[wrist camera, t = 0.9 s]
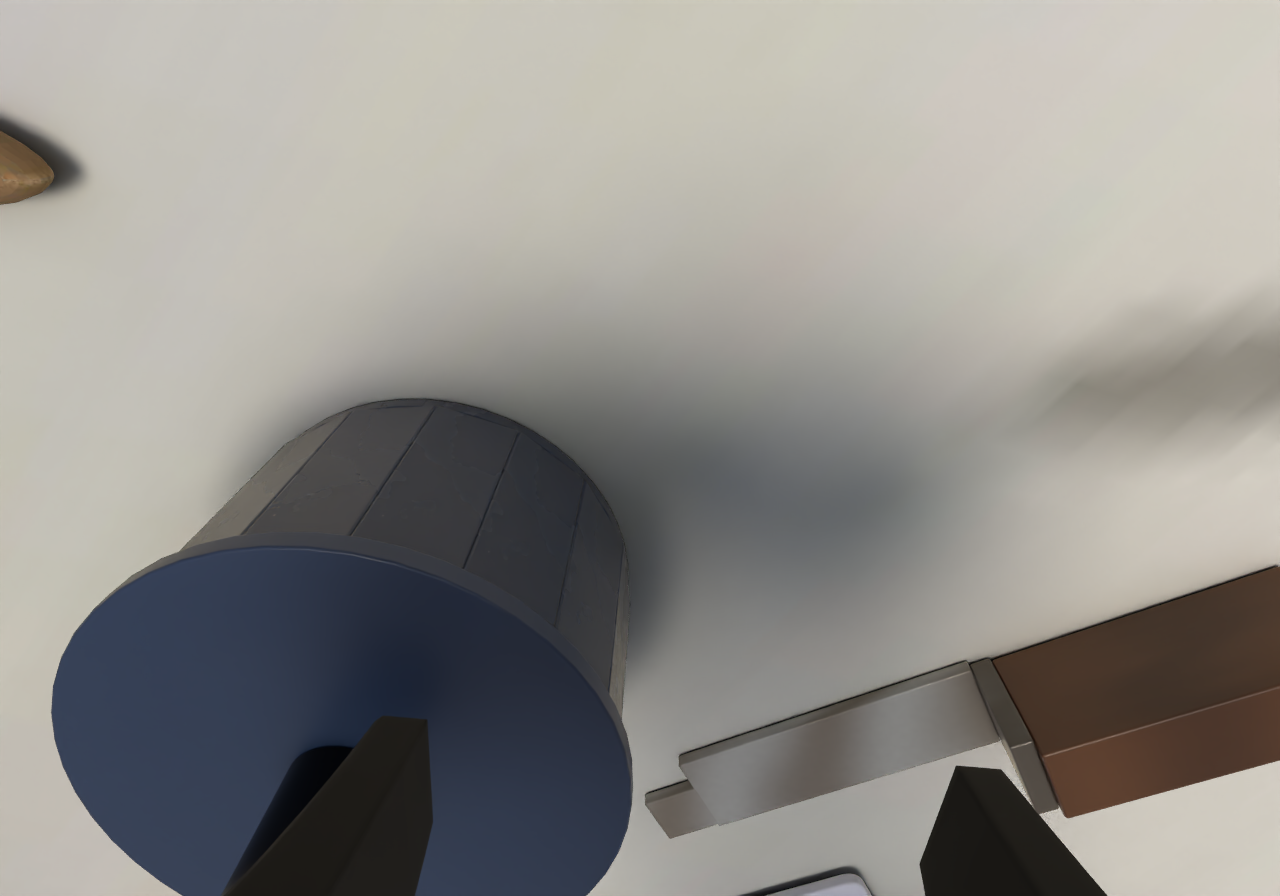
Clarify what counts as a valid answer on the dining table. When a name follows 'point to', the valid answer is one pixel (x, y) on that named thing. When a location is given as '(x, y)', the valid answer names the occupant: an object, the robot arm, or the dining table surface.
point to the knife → (1033, 717)
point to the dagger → (21, 171)
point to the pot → (456, 510)
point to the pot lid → (337, 713)
